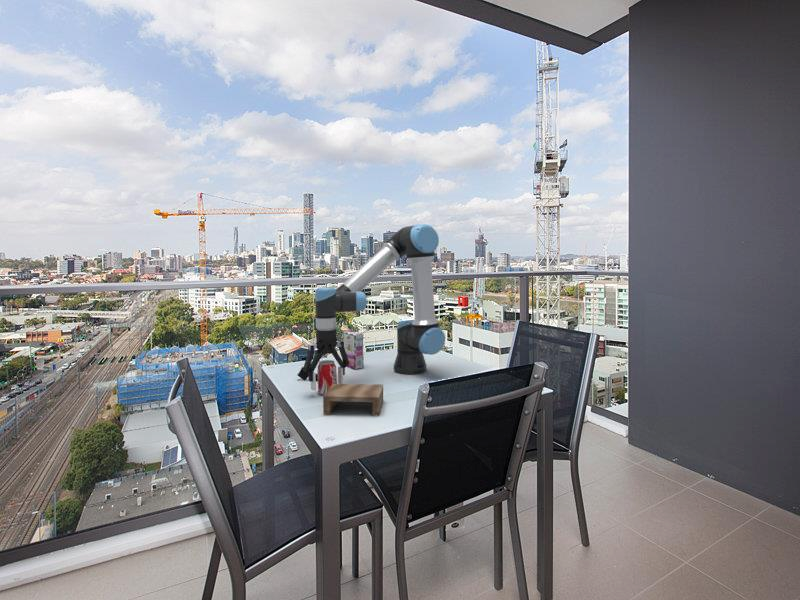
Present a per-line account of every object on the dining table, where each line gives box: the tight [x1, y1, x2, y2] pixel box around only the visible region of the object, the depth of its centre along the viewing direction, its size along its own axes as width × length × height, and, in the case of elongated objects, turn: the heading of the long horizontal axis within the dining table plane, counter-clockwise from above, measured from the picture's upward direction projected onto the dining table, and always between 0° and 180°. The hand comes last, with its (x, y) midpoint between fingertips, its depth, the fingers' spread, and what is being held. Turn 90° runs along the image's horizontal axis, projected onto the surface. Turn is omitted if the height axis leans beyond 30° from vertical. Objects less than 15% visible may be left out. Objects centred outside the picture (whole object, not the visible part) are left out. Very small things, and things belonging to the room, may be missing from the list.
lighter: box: [296, 366, 318, 382], centre depth 171 cm, size 9×2×6 cm
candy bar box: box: [342, 331, 365, 371], centre depth 192 cm, size 11×5×16 cm, turn 37°
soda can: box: [316, 359, 338, 396], centre depth 153 cm, size 7×7×12 cm
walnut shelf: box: [322, 383, 384, 417], centre depth 137 cm, size 18×14×6 cm
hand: (327, 386), depth 153 cm, fingers open, 11 cm apart
